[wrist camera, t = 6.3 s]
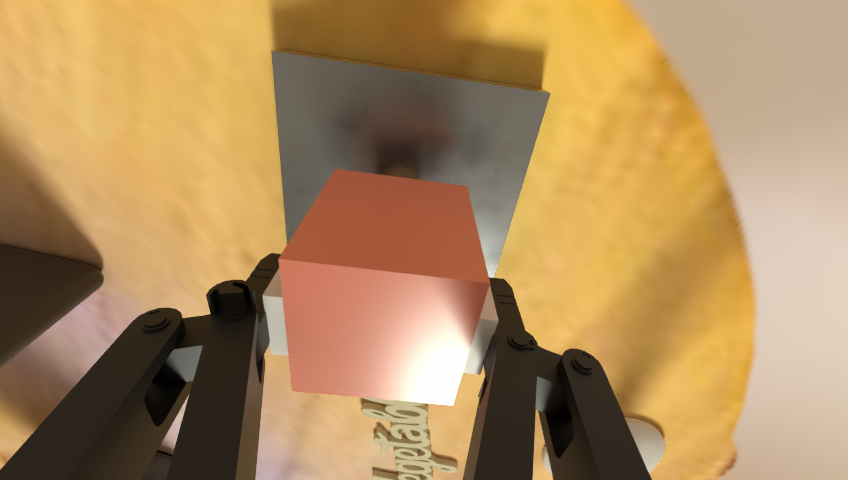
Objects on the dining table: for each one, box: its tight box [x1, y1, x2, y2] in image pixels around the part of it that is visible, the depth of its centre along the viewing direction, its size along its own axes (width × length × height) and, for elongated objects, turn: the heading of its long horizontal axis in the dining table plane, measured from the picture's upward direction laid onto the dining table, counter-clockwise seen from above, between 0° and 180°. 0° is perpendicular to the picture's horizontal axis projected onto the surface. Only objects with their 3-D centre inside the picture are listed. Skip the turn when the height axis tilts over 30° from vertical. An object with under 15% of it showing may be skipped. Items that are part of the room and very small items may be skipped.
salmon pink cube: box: [278, 169, 490, 406], centre depth 14 cm, size 6×6×7 cm
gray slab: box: [272, 49, 550, 278], centre depth 20 cm, size 14×14×6 cm
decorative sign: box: [361, 397, 458, 480], centre depth 38 cm, size 26×1×10 cm
